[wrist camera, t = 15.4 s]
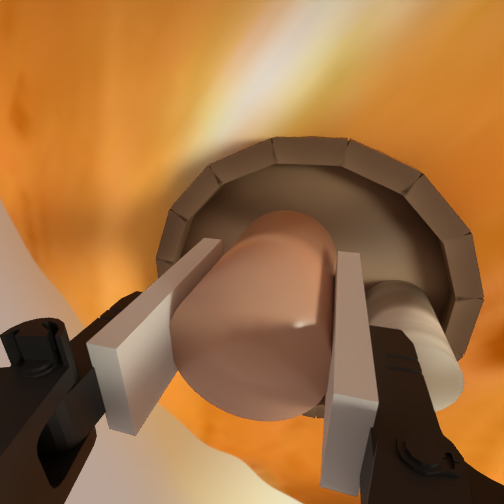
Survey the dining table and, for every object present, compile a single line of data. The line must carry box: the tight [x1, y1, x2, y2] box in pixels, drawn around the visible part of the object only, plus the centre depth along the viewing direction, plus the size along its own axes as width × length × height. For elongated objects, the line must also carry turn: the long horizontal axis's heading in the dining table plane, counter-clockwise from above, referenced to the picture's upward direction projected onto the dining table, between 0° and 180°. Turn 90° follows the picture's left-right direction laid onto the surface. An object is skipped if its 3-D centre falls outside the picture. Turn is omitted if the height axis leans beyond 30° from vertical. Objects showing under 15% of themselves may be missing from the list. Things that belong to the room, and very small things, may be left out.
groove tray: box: [156, 136, 484, 418], centre depth 24 cm, size 23×23×2 cm
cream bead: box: [365, 280, 464, 412], centre depth 19 cm, size 5×5×7 cm
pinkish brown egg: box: [169, 210, 337, 421], centre depth 12 cm, size 5×5×7 cm
